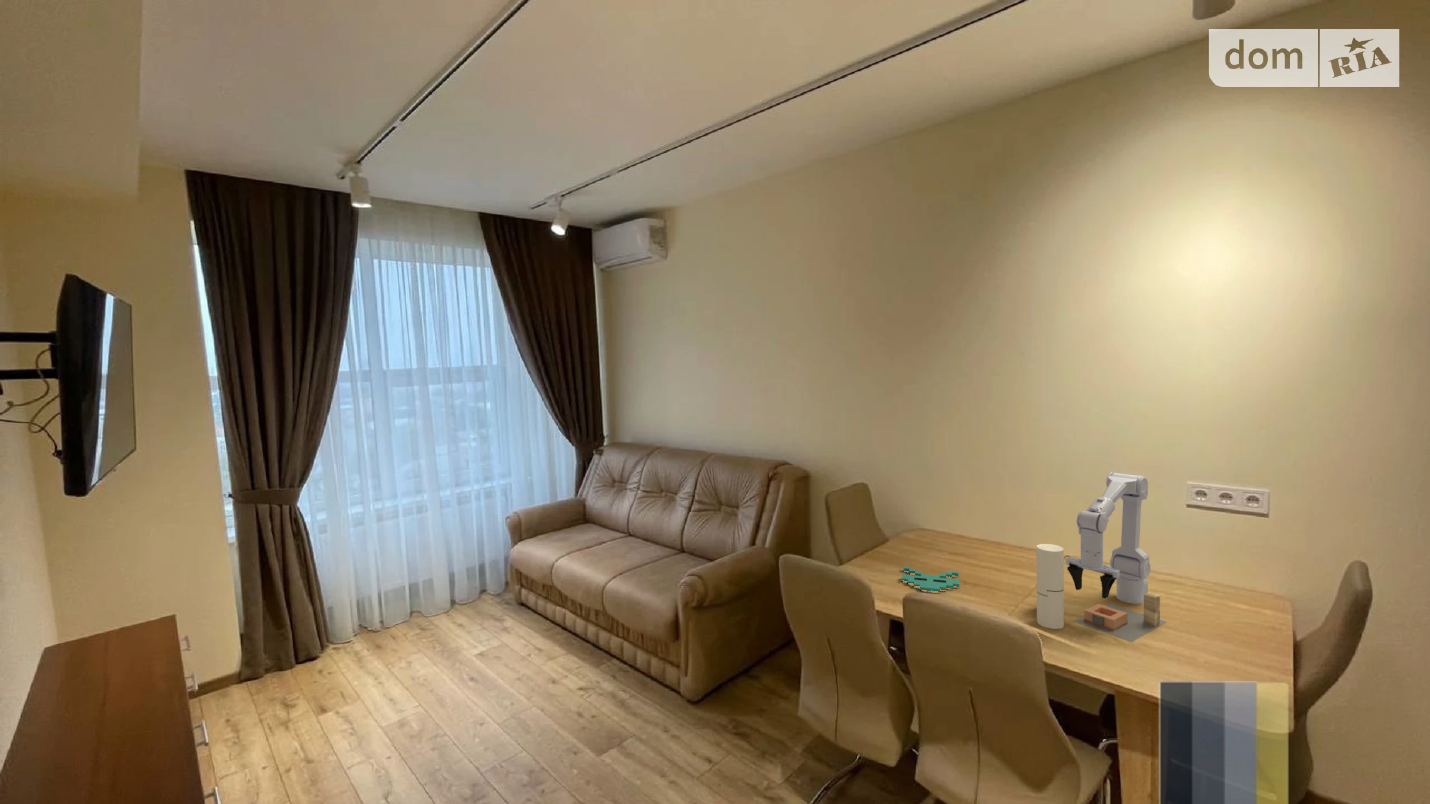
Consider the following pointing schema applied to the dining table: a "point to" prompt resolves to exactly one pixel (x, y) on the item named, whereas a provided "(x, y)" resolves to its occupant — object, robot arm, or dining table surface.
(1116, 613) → the terracotta square frame
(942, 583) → the alien figure
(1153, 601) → the tan rectangular block
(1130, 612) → the slate board
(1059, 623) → the cylindrical container
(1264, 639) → the dining table surface
